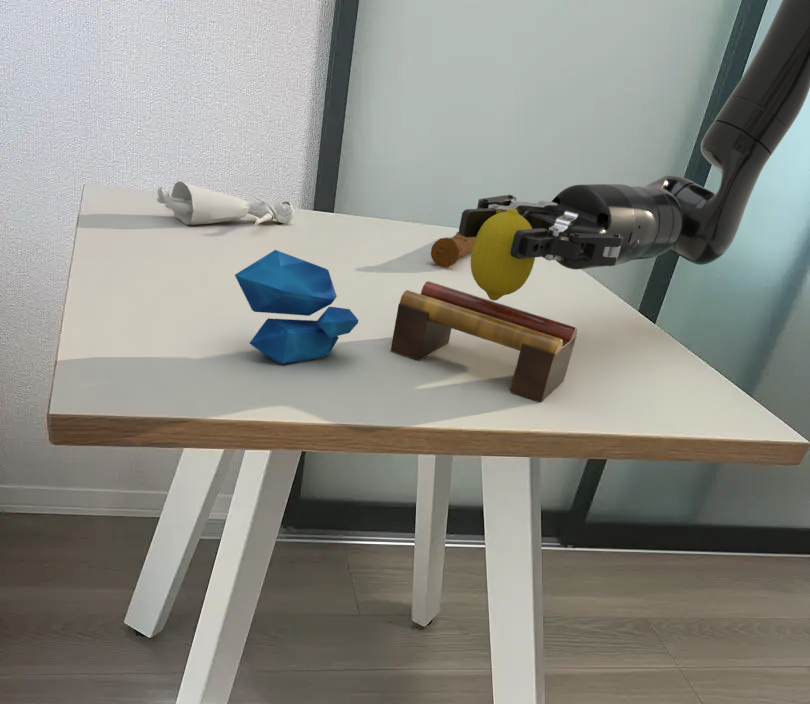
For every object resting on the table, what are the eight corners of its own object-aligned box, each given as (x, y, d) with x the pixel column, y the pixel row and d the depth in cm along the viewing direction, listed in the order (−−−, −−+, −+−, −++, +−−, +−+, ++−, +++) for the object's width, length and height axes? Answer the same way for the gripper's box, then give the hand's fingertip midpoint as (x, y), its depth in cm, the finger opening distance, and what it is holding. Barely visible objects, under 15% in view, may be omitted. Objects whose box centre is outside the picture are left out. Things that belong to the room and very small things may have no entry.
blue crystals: (388, 286, 76) (279, 260, 67) (355, 381, 79) (247, 369, 70) (333, 259, 80) (224, 231, 71) (305, 350, 83) (197, 335, 74)
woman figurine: (143, 167, 108) (273, 184, 119) (140, 205, 110) (268, 218, 121) (184, 193, 100) (319, 208, 111) (180, 233, 102) (312, 244, 113)
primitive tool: (457, 235, 127) (462, 210, 125) (494, 245, 126) (500, 219, 125) (426, 264, 111) (432, 236, 109) (468, 275, 110) (475, 246, 108)
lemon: (478, 310, 77) (499, 215, 73) (453, 288, 81) (471, 197, 77) (534, 312, 79) (557, 220, 75) (506, 291, 83) (526, 202, 79)
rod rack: (563, 381, 84) (580, 325, 81) (541, 402, 78) (557, 343, 75) (421, 333, 88) (432, 278, 85) (390, 350, 83) (400, 292, 80)
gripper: (554, 166, 88) (437, 165, 77) (678, 206, 80) (567, 212, 69) (535, 242, 92) (421, 252, 81) (652, 288, 84) (543, 306, 73)
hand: (489, 234), depth 75 cm, fingers closed on lemon, 5 cm apart
